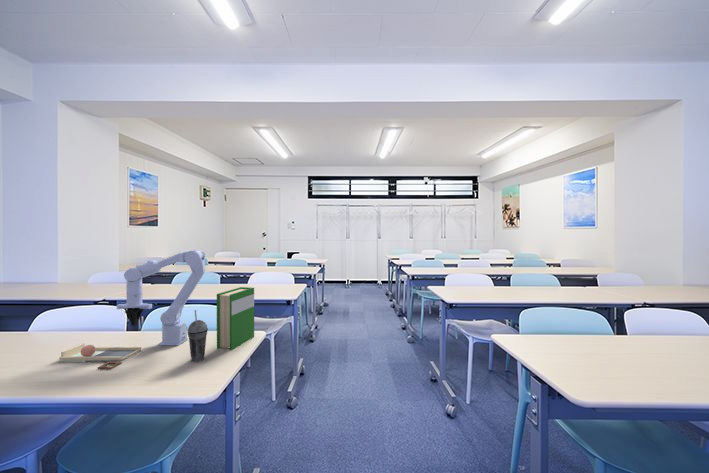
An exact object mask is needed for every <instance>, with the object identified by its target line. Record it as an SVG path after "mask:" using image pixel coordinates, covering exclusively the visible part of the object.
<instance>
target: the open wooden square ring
mask: <svg viewBox="0 0 709 473" xmlns="http://www.w3.org/2000/svg"><path fill="white" fill-rule="evenodd" d="M122 363H123V361H121V362H104V363H103V364H101V365H99V366H97V370H113V369H115V368H116V367H118V366H120V365H122ZM109 365H110V366H109Z"/></svg>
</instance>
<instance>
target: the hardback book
mask: <svg viewBox="0 0 709 473" xmlns="http://www.w3.org/2000/svg"><path fill="white" fill-rule="evenodd" d="M253 338H255V287H243V286H239V287H236V288H233V289H229V290H226V291H223V292H218V293H216V350H219V348H220V349H222V348H227V349H229V351H233V350H235V349H236V348H238V347H240V346H242V345H243V344H245V343H247V342H249V340H251V339H253Z"/></svg>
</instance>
